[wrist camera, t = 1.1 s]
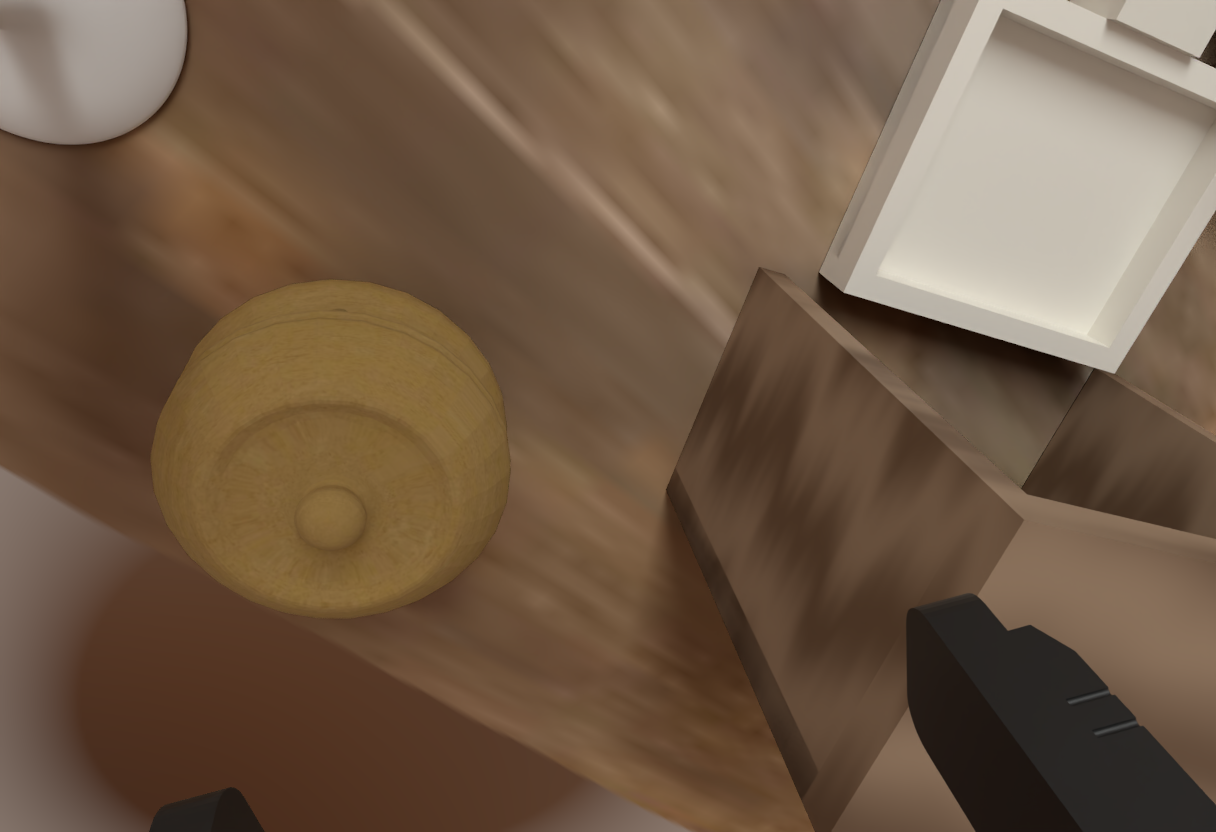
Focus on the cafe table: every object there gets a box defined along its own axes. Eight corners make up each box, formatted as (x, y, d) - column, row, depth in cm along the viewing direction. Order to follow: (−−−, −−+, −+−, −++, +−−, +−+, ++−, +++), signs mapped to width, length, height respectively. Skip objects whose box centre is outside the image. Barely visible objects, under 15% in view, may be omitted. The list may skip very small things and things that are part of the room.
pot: (131, 334, 33) (21, 470, 24) (410, 196, 32) (401, 284, 24) (307, 554, 39) (270, 728, 30) (547, 440, 38) (580, 584, 29)
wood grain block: (759, 267, 36) (1024, 519, 20) (1114, 373, 42) (1544, 637, 26) (666, 489, 40) (821, 846, 24) (999, 558, 46) (1306, 884, 30)
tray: (1010, -157, 30) (1065, -167, 28) (1293, -12, 34) (1364, -9, 32) (819, 272, 37) (848, 296, 34) (1077, 351, 41) (1122, 378, 38)
